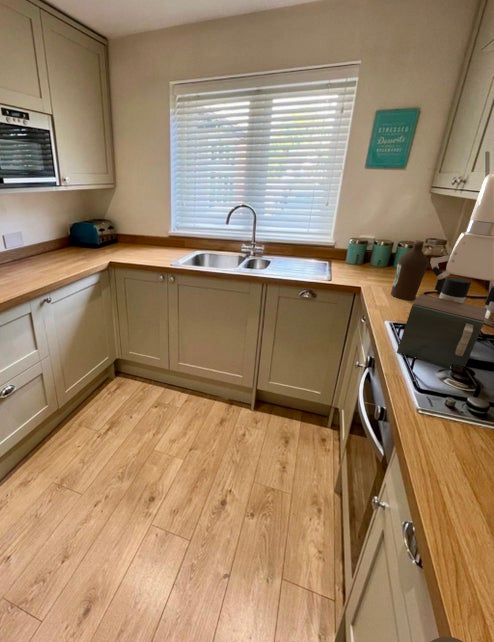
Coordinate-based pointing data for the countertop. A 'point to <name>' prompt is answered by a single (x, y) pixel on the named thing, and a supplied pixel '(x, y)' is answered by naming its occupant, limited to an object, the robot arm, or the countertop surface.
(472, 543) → the countertop surface
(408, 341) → the door
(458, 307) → the cupboard
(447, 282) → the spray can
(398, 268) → the olive oil
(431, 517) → the countertop surface
